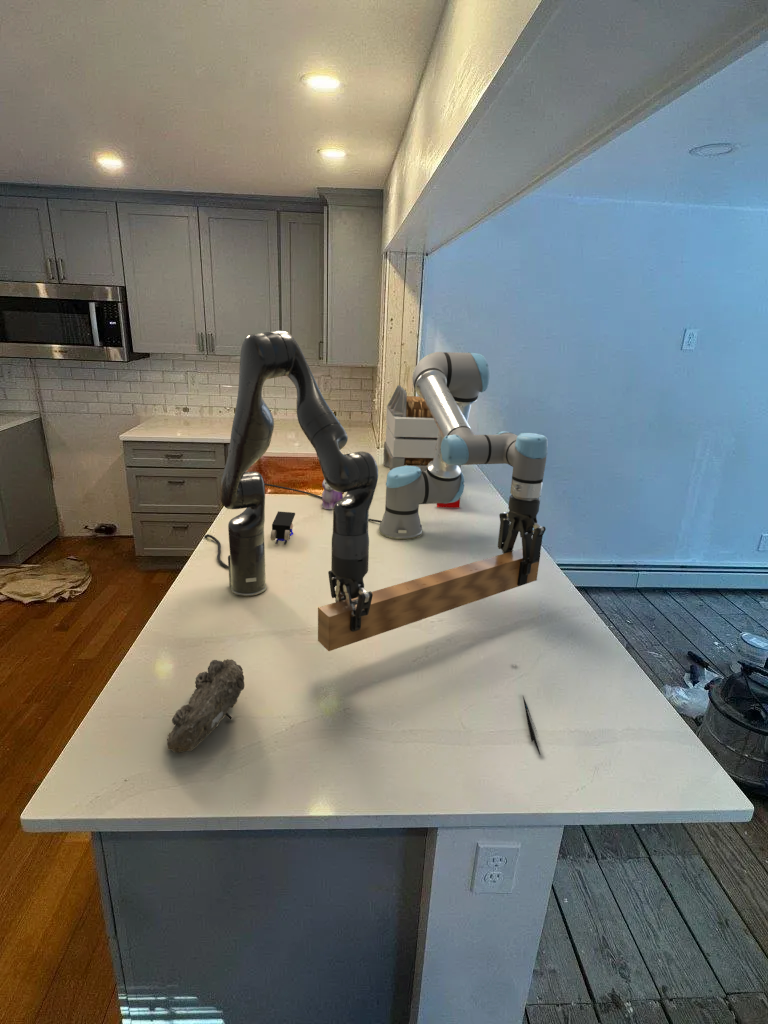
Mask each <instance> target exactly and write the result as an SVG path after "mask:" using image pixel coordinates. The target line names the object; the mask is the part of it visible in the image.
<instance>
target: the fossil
mask: <svg viewBox="0 0 768 1024" xmlns="http://www.w3.org/2000/svg"><path fill="white" fill-rule="evenodd" d="M243 670H244V669H243V667H242V665H240V664H237V662H236V661H235V660H234V659H232V658H231V659H227V658H226V659H224V660H223V661H222V660H217V659H212V660H211V661H210V663H209V665H208V666H207V671H201V672H199V673H198V674H197V675H196V676H195V680H194V684H195V685H194V687H195V689H194V690H193V693H192V694H191V697H190V698H189V700H188V704H184V705H182V706H181V707H180V709H177V710H176V711H175V713H174V715H173V716H172V718H171V723H172V724H173V727H172V730H171V731H170V732H168V734H167V738H166V741H167V742H166V745H167V749H168V750H169V751H173V752H174V753H176V754H178V753H182V752H188V751H189V752H192V751H193V750H195V748H196V747H197V746H199V744H200V743H201V742H203V741H204V740H205V739H206V738H207V737H208V736H209V735H210V734H211V733H212V732H214V730H215V729H217V727H218V726H219V724H220V722H221V721H222V720H223V719H224V718H225V716H226V717H227V719H229V720H233V717H232V715H230V714H229V710H230V709H231V708H234V706H235V704H236V703H237V702H238V699H239V697H240V695H241V693H242V691H243V690H245V689H244V688H245V675H244V671H243Z"/></svg>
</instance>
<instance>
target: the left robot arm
mask: <svg viewBox="0 0 768 1024" xmlns="http://www.w3.org/2000/svg"><path fill="white" fill-rule="evenodd" d="M282 377H287V378H288V379H289V380H290V381H291V382H292V384H293V385H294V387H295V391H296V417H297V422H298V424H299V427H300V429H301V431H302V432H303V433H304V435H305V437H306V438H307V440H308V441H309V442H310V444H311V445H312V448H313V449H314V451H315V453H316V457H317V460H318V463H319V466H320V469H321V472H322V476H323V478H324V479H325V481H326V483H327V484H328V485H329V486H330V487H331V488H332V489H333V490H335V491H337V492H340V493H342V494H343V493H346V494H345V495H344V496H343V498H342V499H341V500H339V501H338V502H337V503H336V504H335V505H334V509H332V534H331V563H330V564H331V570H328V580H329V589H330V590H329V591H330V596H331V598H332V599H334V601H335V602H338V601H342V600H345V599H346V601H347V605H349V606H350V613H351V615H350V630H351V631H352V632H354V631H357V630H360V628H361V617H362V616H365V615H368V613H369V609H370V605H371V600H372V596H373V594H372V592H373V591H367V590H366V589H365V582H364V578H365V577H366V575H367V574H368V573H369V562H370V561H369V560H370V537H369V520H368V518H369V516H370V515H369V512H370V507H371V505H372V502H373V499H374V495H375V492H376V488H377V484H378V479H379V468H378V467H379V466H378V464H377V461H376V459H375V457H374V455H372V454H371V453H370V452H368V451H363V450H362V451H355V452H352V453H351V452H350V453H346V454H344V453H342V452H341V450H342V449H344V447H346V444H347V443H348V439H349V437H348V434H347V432H346V429H345V428H344V426H343V424H342V423H341V422H340V421H339V419H338V418H337V416H336V415H335V414H334V412H333V410H332V409H331V407H330V405H329V404H328V403H327V401H326V400H325V397H324V396H323V394H322V392H321V390H320V388H319V386H318V383H317V382H316V379H315V377H314V375H313V373H312V370H311V368H310V366H309V364H308V362H307V360H306V358H305V355H304V353H303V351H302V349H301V347H300V345H299V344H298V341H297V340H296V339H295V337H294V336H293V335H292V334H291V333H289V332H288V331H285V330H272V331H263V332H257V333H256V332H255V333H252V334H251V333H250V334H249V335H246V337H245V338H244V339H243V341H242V344H241V349H240V355H239V372H238V390H237V398H236V405H235V409H234V415H233V420H232V425H231V426H232V427H231V430H230V431H231V432H230V440H229V445H228V446H229V447H228V452H227V458H226V461H225V464H224V468H223V471H222V475H221V478H220V484H219V499H220V502H221V504H222V506H223V508H226V510H243V509H244V510H243V511H242V512H241V513H240V514H238V515H236V516H234V517H232V518H231V519H230V520H229V522H228V524H227V525H228V526H227V529H228V547H229V555H228V556H227V564H226V563H225V562H223V561H222V559H221V554H222V550H221V547H222V545H221V542H220V540H218V539H217V537H215V536H213V535H211V534H205V535H204V536H203V538H204V537H205V538H204V539H207V538H210V539H212V540H213V541H214V542H215V543H216V544H217V556H216V559H217V562H218V563H219V564H220V565H221V566H222V567H224V568H225V569H227V570H228V583H229V588H230V589H231V592H232V593H233V594H235V595H237V596H241V597H253V596H258V595H260V594H262V593H264V592H265V591H266V589H267V582H266V581H267V580H266V579H267V578H266V553H265V552H266V550H265V549H266V548H265V547H266V545H265V522H266V521H265V520H266V519H265V518H266V517H265V516H266V515H265V513H266V485H264V483H265V481H264V478H263V475H262V474H261V473H260V472H259V471H248V470H249V469H251V467H252V466H254V464H255V463H257V461H259V460H260V459H261V458H262V457H263V456H264V455H265V453H266V452H267V451H268V449H269V447H270V446H271V442H272V437H273V433H274V428H275V419H274V416H273V414H272V412H271V410H270V407H268V405H267V404H266V402H265V400H264V398H263V386H264V383H265V382H266V381H267V380H270V379H276V378H282ZM324 479H323V480H324ZM354 598H357V599H356V600H353V601H352V600H351V599H354ZM335 602H334V603H335ZM356 604H357V608H356V610H355V607H354V606H355V605H356Z"/></svg>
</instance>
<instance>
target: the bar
mask: <svg viewBox="0 0 768 1024" xmlns="http://www.w3.org/2000/svg"><path fill="white" fill-rule="evenodd" d="M540 555H541V552H540ZM540 559H541V556H540V557H539V562H536V563H533V564H531V570H530V574H528V577H527V584H530V583H533V582H535V581H538V574H539V566H540ZM522 561H523V551H522V547H521V548H518V549H515V550H514V551H513V550H512V551H511V552H508V553H504V554H503V553H500V554H498V555H497V554H496V555H494V556H491V557H486V558H483V559H480V560H477V561H473V562H470V563H465V564H463V565H460V566H456V567H453V568H449V569H446V570H442V571H439V572H435V573H432V574H429V575H425V576H422V577H418V578H415V579H414V578H413V579H412V580H408V581H404V582H401V583H397V584H394V585H391V586H387V587H384V588H383V587H382V588H380V589H377V590H374V591H371V592H372V594H373V596H372V600H371V605H370V609H369V613H368V615H365V616H362V617H361V628H360V630H357V631H354V632H352V631H351V630H350V615H351V613H350V606H349V605H347V601H346V599H345V600H342V601H338V602H331V603H328V604H326V605H325V604H324V605H321V606H318V607H317V642H318V643H320V645H321V646H322V647H323V648H324V649H326V651H327V652H332V651H334V650H337V649H340V648H343V647H346V646H349V645H353V644H355V643H357V642H358V643H359V642H361V641H363V640H367V639H370V638H372V637H376V636H378V635H381V634H384V633H388V632H390V631H393V630H395V629H399V628H401V627H404V626H407V625H410V624H413V623H416V622H418V621H419V622H420V621H422V620H425V619H427V618H430V617H434V616H437V615H439V614H442V613H445V612H448V611H451V610H454V609H458V608H460V607H463V606H465V605H468V604H472V603H474V602H477V601H480V600H482V599H486V598H489V597H492V596H494V595H497V594H501V593H505V592H507V591H509V590H513V589H515V588H518V587H519V586H518V585H517V584H518V576H519V568H520V562H522ZM356 599H357V598H354V599H351V600H352V601H353V600H356ZM354 607H355V610H356V608H357V604H356V605H355V606H354Z"/></svg>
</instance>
